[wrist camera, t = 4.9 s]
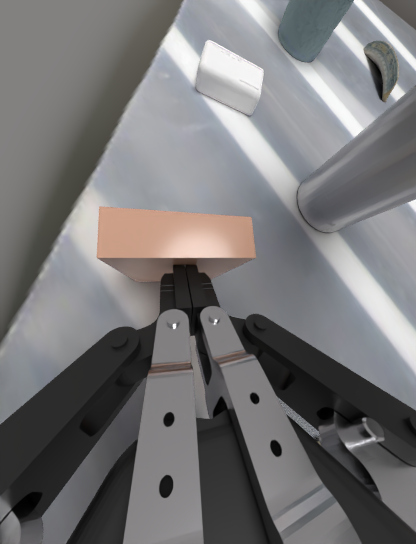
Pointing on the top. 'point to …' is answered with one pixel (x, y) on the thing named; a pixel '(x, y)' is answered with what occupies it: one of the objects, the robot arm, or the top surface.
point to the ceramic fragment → (384, 64)
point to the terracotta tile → (172, 242)
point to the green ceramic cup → (310, 25)
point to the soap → (229, 78)
